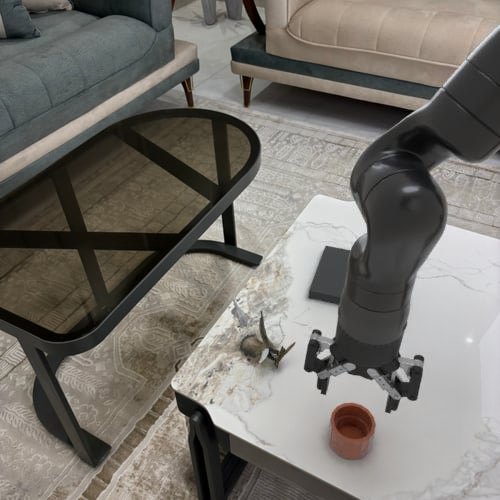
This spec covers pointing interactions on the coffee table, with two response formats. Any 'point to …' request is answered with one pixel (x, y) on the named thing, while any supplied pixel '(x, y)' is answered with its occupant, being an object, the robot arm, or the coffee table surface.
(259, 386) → the coffee table surface
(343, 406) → the brown cup
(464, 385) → the coffee table surface
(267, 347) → the eagle figurine
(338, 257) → the scale
